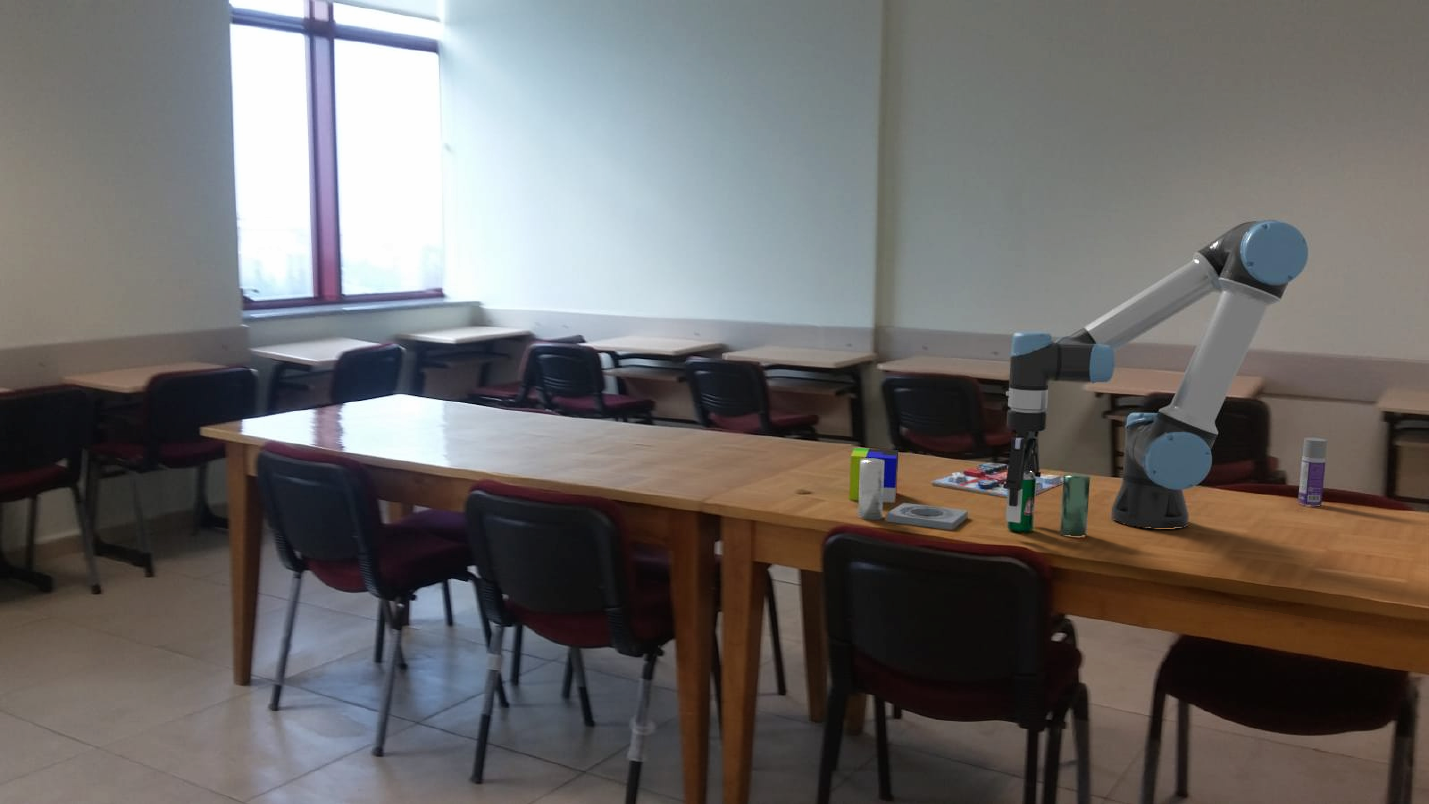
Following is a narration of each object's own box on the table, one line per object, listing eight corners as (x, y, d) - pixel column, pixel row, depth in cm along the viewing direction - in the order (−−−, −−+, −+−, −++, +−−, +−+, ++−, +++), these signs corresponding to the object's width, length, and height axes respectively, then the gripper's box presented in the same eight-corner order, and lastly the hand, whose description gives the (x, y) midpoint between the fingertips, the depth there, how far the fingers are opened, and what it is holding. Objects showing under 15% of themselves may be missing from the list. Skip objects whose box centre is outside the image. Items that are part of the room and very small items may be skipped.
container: (1323, 504, 258) (1330, 439, 256) (1317, 508, 255) (1324, 442, 252) (1301, 501, 261) (1307, 436, 259) (1295, 504, 258) (1301, 439, 256)
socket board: (967, 517, 240) (968, 510, 240) (951, 530, 229) (952, 522, 229) (903, 509, 246) (903, 502, 246) (885, 521, 236) (885, 514, 235)
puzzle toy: (894, 502, 253) (896, 458, 251) (849, 500, 255) (850, 455, 253) (896, 493, 263) (898, 450, 261) (852, 490, 265) (854, 448, 263)
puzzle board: (1021, 503, 257) (1022, 491, 257) (930, 487, 271) (930, 476, 271) (1073, 482, 281) (1074, 471, 280) (987, 469, 295) (987, 459, 295)
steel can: (885, 515, 240) (887, 459, 239) (877, 520, 236) (879, 463, 234) (862, 512, 243) (865, 457, 241) (854, 517, 238) (856, 461, 236)
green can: (1088, 533, 228) (1092, 475, 227) (1083, 539, 224) (1087, 479, 222) (1062, 530, 231) (1066, 472, 229) (1057, 536, 226) (1061, 476, 225)
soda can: (1028, 535, 227) (1032, 475, 225) (1003, 531, 229) (1007, 472, 228) (1036, 529, 231) (1039, 471, 229) (1011, 526, 234) (1014, 468, 232)
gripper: (1021, 400, 239) (1015, 500, 242) (993, 415, 217) (986, 525, 220) (1058, 403, 236) (1051, 504, 239) (1033, 419, 214) (1026, 530, 217)
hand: (1020, 514), depth 230 cm, fingers open, 12 cm apart
